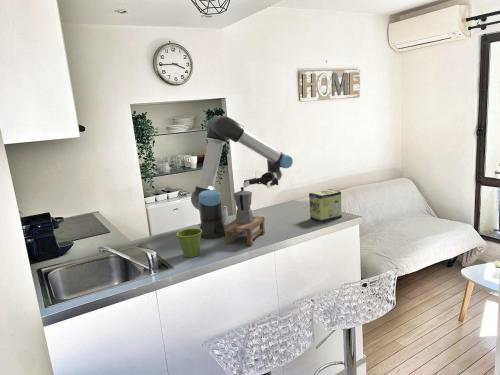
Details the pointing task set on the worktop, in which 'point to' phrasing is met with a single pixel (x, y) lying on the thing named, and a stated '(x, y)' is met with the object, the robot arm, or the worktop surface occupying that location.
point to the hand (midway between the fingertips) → (255, 185)
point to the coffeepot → (243, 206)
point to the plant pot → (190, 241)
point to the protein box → (325, 205)
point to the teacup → (224, 213)
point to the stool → (244, 230)
